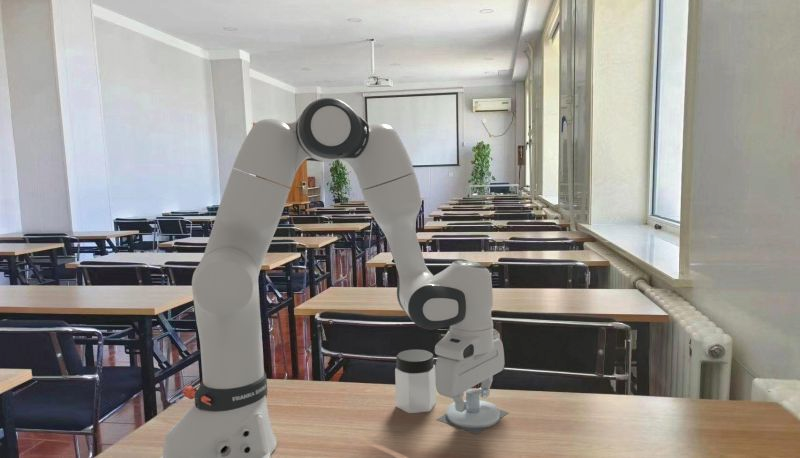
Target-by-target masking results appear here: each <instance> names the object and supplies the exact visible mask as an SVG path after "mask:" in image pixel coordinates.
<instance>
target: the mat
mask: <svg viewBox="0 0 800 458" xmlns="http://www.w3.org/2000/svg"><path fill="white" fill-rule="evenodd" d="M499 411H500V419H502V418H504V417H505V416H507V415H508V414H510V412H508V411H506V410H502V409H499ZM500 419H499V420H500ZM436 421H438V422H441V423H445V424H447V425H449V426H452V427H455V428H458V429H461V430H463V431H466V432H468V433H472V434H474V435H478V434H480V433H481V432H483V431H484V430H486V429H487V428H488V427H485V428H464V427H460V426H457V425H455V424H453V423H451V422H450V421H449V420H448V419H447V413H445V414H443V415H442V416H440V417H438V418H436Z"/></svg>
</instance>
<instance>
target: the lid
mask: <svg viewBox="0 0 800 458" xmlns="http://www.w3.org/2000/svg"><path fill="white" fill-rule="evenodd" d="M463 401H465V402H467V406H466V407H467V409H466V410H465V411H463V412H459V411H456V409H455V401H453V402H452V403H450V404H449V405H448V406H447V407H446V413H445V414H447V419H448V420H449V421H450V422H451V423H453V424H455V425H457V426H460V427H464V428H485V427H487V428H489V427H492V426H494V425H496V424H497V423H498V422H500V411H499V410H500V409H499V407H498V406H497V405H495V404H494V403H492V402H489V401H485V400H483V399H482V400H481V399H480V396H479V389H473V388H472V389H471V388H470V389H468V390H466V391H465V399H463Z"/></svg>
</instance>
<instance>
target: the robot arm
mask: <svg viewBox="0 0 800 458" xmlns="http://www.w3.org/2000/svg"><path fill="white" fill-rule="evenodd" d="M245 137H246V138H244V141H243V143H242V144H241V147H240V149H239V151H238V153H237V156H236V157H235V160H234V163H233V165H232V169H231V171H230V174H229V176H228V177H229V178H228V179H227V183H226V186H225V188H224V191H223V194H222V198H221V199H220V203H219V205H218V208H217V212H216V214H215V219H214V222H213V225H212V228H211V231H210V233H209V238H208V241H207V244H206V247H205V248H204V253H203V256H202V258H201V260H200V262H199V263H198V265H197V266H196V268H195V270H194V271H193V275H192V278H191V289H192V291H191V292H192V297H193V298H192V299H193V305H194V306H193V307H194V314H195V321H196V327H197V331H198V337H199V347H200V358H201V360H200V361H201V375H202V380H201V382H200V384H199V387H198V389H197V388H196V387H193V386H191V385H187V386H185V387H184V389H183V390H182V394H183V397H186V398H187V399H189V400H193V399H194V404H193V405H192V406H191V408H190V409H189V410H188V411H187V412H186V413H185V414H184V415H183V416H182V417H181V418H180V419H179V421H178V422H177V423H175V424H174V426H173V427H171V429H170V430H169V431H168V432H167V433H166V435H165V438H164V441H163V445H162V446H163V448H162V455H161V456H160V457H159V458H272V457H271V455H272V453H273V452H274V450H275V449H276V448H277V444H278V442H277V438H276V435H275V433H274V431H273V427H272V424H271V420H270V415H269V409H268V402H267V396H268V382H267V381H268V380H267V373H266V372H265V369H264V352H263V351H264V350H263V337H262V335H263V333H262V324H261V323H262V319H261V308H260V307H261V306H260V305H261V304H260V289H259V276H260V271H261V269H262V266H263V263H264V261H265V258H266V256H267V253H268V251H269V248H270V246H271V243H272V240H273V238H274V235H275V233H276V231H277V229H278V226H279V223H280V221H281V217H282V216H283V212H284V208H285V206H286V204H287V200H288V198H289V194H290V192H291V189H292V187H293V183H294V180H295V177H296V174H297V172H298V170H299V168H300V166H301V165H302V163H303V162H304V161H311V162H320V163H321V162H328V163H329V162H333V161H338V160H342V161H345V162H347V164H349V165H350V167H351V168H352V169H353V172H354V173H355V175H356V177H357V181H358V184H359V188H360V190H361V194H362V196H363V199H364V201H365V203H366V206H367V207H368V210H369V212H370V213H371V215H372V217H373V219H374V220H375V222H376V224H377V225H378V227H379V228H380V229H381V231H382V233H383V234H384V236H385V238H386V241H387V243H388V246H389V251H390V253H391V255H392V259H393V262H394V265H395V268H396V273H397V285H396V298H397V302H398V305H399V307H400V308H401V309H402V311H404V312H406V314H407V316H408V317H409V318H410V320H411V322H413V323H414V324H415V325H416V326H417V327H419V328H421V329H424V330H429V331H431V330H438V329H443V328H446V327H449V329H448V331H447V332H446V334H445V335H444V336H443V337H442V338H441V339H440V340H439V341H438V342H437V343H436V344H435V346H434V353H435V355H437V356H438V357H437V358H436V362H435V380H436V392H437V393H438V395H440V396H443V397H446V398H450V399H452V400H453V402H455V409H456V411H459V412H463V411H465V410H466V409H467V407H466V406H467V402H465V401H463V400H464V399H463V397H464V393H465V392H466V391H467V390H470V389H471V388H473V387H475V386H477V385H479V384H480V387H479V388H478V391H479V398H483V399H486V398H488V397H489V396H490V392H491V391H490V388H491V387H492V384H493V380H494V376H495V375H496V374H498V373H500V372H502V371H503V370H504V367H505V363H506V362H505V351H504V345H503V341H502V340H501V334H500V332H499V331H498V330H496V329H495V328H494V320H493V319H492V317H493V316H492V309H493V307H494V298H493V297H494V295H493V285H492V284H493V283H492V282H493V281H492V276H491V272H490V271H489V269H488V268H487V266H485V265H483V264H481V263H479V262H476V261H471V260H463V259H461V260H460V259H459V260H454V261H453V262H452V263H451V264H450V265H449V266H447V267H446V268H445V269H443V270H442V271H440V272H438V273H436V274H433V273H432V272H431V271H430V269H429V268H428V266H427V265H426V262H425V259H424V256H423V252H422V249H421V245H420V243H419V239H418V236H417V230H416V222H417V218H418V215H419V213H420V210H421V208H422V199H421V191H420V186H419V182H418V178H417V175H416V172H415V169H414V166H413V163H412V161H411V158H410V156H409V154H408V152H407V148H406V147H405V145H404V142H403V141H402V139H401V137H400V135H399V134H398V132H397V130H395V128H393V127H392V126H391V125H389V124H383V123H374V124H370V125H369V124H368V122H367V121H366V120H365V119H363V117H361V116H360V115H359V114H358V113H357V112H356V111H355V110H354V109H353V108H352V107H351V106H350V105H348V104H347V103H345V102H344V101H343V100H340V99H337V98H333V97H324V98H323V97H322V98H319V99H316V100H314V101H312V102H311V103H309V104H307V106H306V107H305V108H304V110H303V111H302V113H301V114H300V116H298V118H297V119H296V120H294V121H293V122H285V121H282V120H279V119H273V118H265V119H261V120H259V121H256V123H254V124H253V126H252V127H251V129H250V130H249V132H248V133H247V136H245Z"/></svg>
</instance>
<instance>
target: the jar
mask: <svg viewBox="0 0 800 458" xmlns="http://www.w3.org/2000/svg"><path fill="white" fill-rule="evenodd" d="M435 367H436V364H435V360H434V354H433V353H432V352H430V351H429V350H425V349H408V350H403V351H400V352H398V353H397V354H396V367H395V369H394V377H395V403H396V405H395V406H396V408H398V409H400V410H402V411H404V412H406V413H407V414H415V413H425V412H431V411H432V409H433V408H434V406H435V405H436V403H437V394H436V393H437V390H436V378H435Z"/></svg>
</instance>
